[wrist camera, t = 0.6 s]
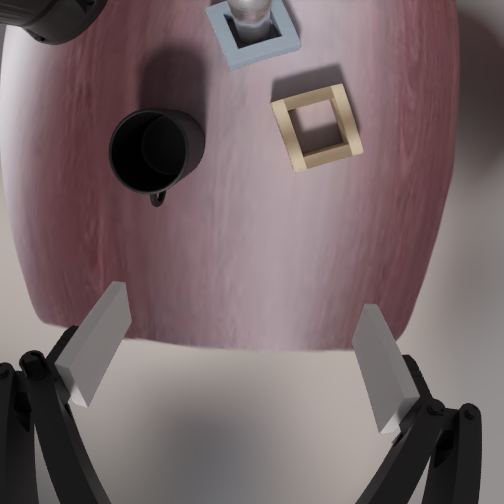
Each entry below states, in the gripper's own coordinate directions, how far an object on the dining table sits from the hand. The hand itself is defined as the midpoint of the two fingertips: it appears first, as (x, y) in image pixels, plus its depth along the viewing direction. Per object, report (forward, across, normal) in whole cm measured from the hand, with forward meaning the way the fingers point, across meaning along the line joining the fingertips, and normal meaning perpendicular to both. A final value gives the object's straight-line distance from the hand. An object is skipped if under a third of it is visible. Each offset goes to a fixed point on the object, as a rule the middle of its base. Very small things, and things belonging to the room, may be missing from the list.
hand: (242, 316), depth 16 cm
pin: (+27, -2, +22) cm, 35 cm away
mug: (+27, -12, +4) cm, 29 cm away
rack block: (+26, +7, +10) cm, 29 cm away
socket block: (+27, -2, +22) cm, 35 cm away
